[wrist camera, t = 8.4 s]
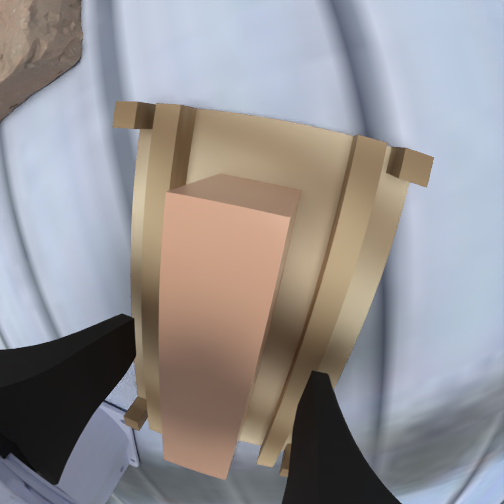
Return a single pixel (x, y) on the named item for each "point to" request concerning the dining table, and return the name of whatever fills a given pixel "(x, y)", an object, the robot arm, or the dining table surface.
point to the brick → (36, 46)
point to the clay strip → (217, 310)
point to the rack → (300, 250)
